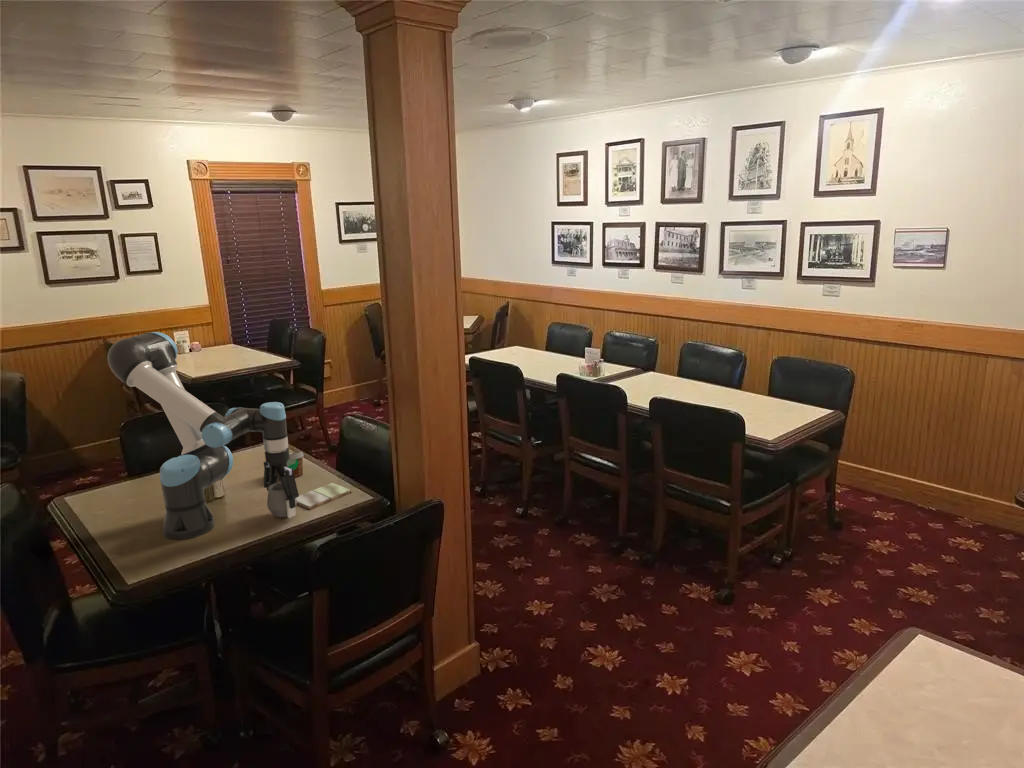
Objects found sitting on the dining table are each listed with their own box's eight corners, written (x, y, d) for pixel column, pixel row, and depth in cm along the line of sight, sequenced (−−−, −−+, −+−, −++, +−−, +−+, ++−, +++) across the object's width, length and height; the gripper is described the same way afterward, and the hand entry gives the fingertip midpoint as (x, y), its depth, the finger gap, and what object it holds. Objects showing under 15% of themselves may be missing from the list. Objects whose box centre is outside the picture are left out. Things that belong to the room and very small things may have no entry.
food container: (269, 478, 256) (266, 454, 254) (278, 472, 262) (276, 448, 260) (296, 481, 253) (293, 456, 250) (306, 475, 259) (303, 451, 256)
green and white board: (310, 509, 228) (309, 506, 227) (289, 501, 235) (289, 498, 235) (352, 492, 241) (352, 489, 241) (331, 485, 249) (331, 482, 248)
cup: (302, 508, 227) (299, 481, 225) (291, 520, 218) (288, 492, 216) (275, 507, 228) (273, 480, 226) (263, 519, 219) (260, 491, 217)
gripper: (306, 453, 214) (312, 517, 219) (268, 439, 227) (274, 500, 233) (286, 459, 208) (292, 525, 214) (247, 445, 221) (254, 507, 227)
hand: (283, 512), depth 223 cm, fingers closed on cup, 9 cm apart
